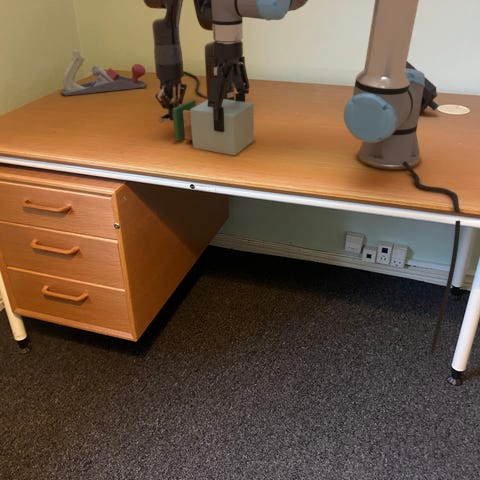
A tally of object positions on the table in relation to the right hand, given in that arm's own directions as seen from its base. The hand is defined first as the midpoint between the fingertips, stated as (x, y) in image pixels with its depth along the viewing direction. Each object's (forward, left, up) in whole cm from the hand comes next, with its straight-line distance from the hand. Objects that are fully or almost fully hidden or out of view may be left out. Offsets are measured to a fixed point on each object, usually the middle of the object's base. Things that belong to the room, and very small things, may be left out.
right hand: (230, 123), depth 146 cm
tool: (+25, -57, -6) cm, 63 cm away
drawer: (+6, +11, -5) cm, 13 cm away
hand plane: (+60, +45, -6) cm, 75 cm away
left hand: (+9, +16, -2) cm, 19 cm away
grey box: (+1, +2, -6) cm, 7 cm away
